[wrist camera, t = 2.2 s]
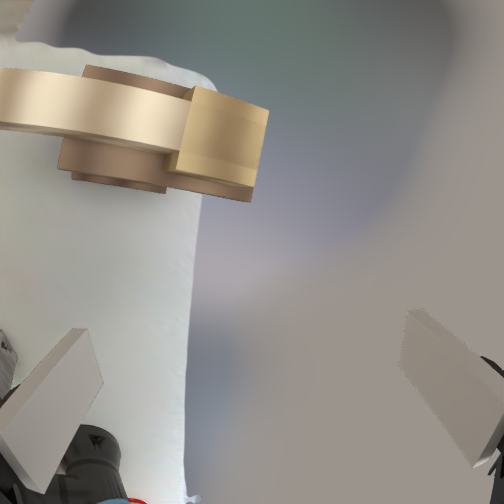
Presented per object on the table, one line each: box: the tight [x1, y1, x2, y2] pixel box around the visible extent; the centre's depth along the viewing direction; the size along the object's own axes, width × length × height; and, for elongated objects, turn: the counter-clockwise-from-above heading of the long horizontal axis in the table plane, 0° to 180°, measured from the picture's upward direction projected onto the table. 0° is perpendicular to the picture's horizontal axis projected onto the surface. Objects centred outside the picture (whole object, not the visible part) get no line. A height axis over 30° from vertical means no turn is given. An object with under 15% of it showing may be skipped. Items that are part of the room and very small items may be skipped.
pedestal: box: [57, 65, 254, 202], centre depth 35 cm, size 16×8×30 cm, turn 78°
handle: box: [0, 68, 269, 187], centre depth 18 cm, size 24×6×4 cm, turn 78°
